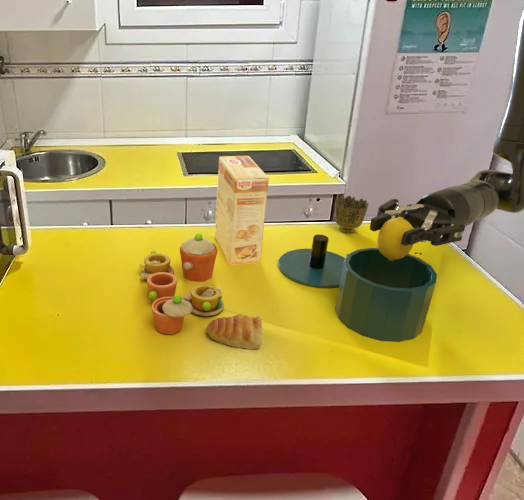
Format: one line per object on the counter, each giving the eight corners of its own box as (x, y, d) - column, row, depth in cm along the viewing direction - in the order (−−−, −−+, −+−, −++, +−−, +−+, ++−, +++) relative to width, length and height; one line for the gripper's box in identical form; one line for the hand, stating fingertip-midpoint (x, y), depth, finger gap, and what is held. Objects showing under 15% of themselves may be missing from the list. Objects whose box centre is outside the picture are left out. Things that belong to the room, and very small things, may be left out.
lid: (361, 263, 111) (367, 230, 107) (346, 298, 98) (353, 263, 95) (289, 247, 117) (293, 216, 113) (267, 278, 105) (271, 244, 101)
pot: (425, 309, 95) (439, 259, 91) (418, 354, 84) (433, 299, 79) (344, 289, 101) (353, 241, 96) (327, 329, 90) (336, 276, 85)
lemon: (397, 251, 90) (406, 209, 86) (415, 267, 85) (426, 223, 82) (367, 254, 89) (375, 211, 86) (384, 270, 85) (393, 225, 81)
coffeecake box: (261, 265, 110) (270, 177, 101) (228, 267, 109) (234, 178, 100) (243, 234, 123) (249, 154, 114) (213, 236, 122) (217, 155, 113)
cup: (368, 232, 124) (374, 201, 121) (353, 242, 120) (359, 210, 116) (339, 223, 129) (344, 193, 125) (324, 232, 124) (329, 201, 120)
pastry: (204, 346, 85) (205, 327, 83) (207, 323, 91) (208, 304, 89) (262, 352, 84) (264, 332, 82) (261, 327, 90) (263, 309, 88)
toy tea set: (137, 265, 109) (136, 223, 105) (210, 261, 111) (212, 220, 106) (146, 342, 86) (145, 292, 82) (237, 336, 88) (241, 287, 83)
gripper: (418, 177, 95) (355, 196, 87) (497, 203, 84) (434, 227, 76) (409, 214, 98) (348, 236, 90) (483, 244, 88) (422, 271, 80)
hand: (388, 232), depth 83 cm, fingers closed on lemon, 5 cm apart
